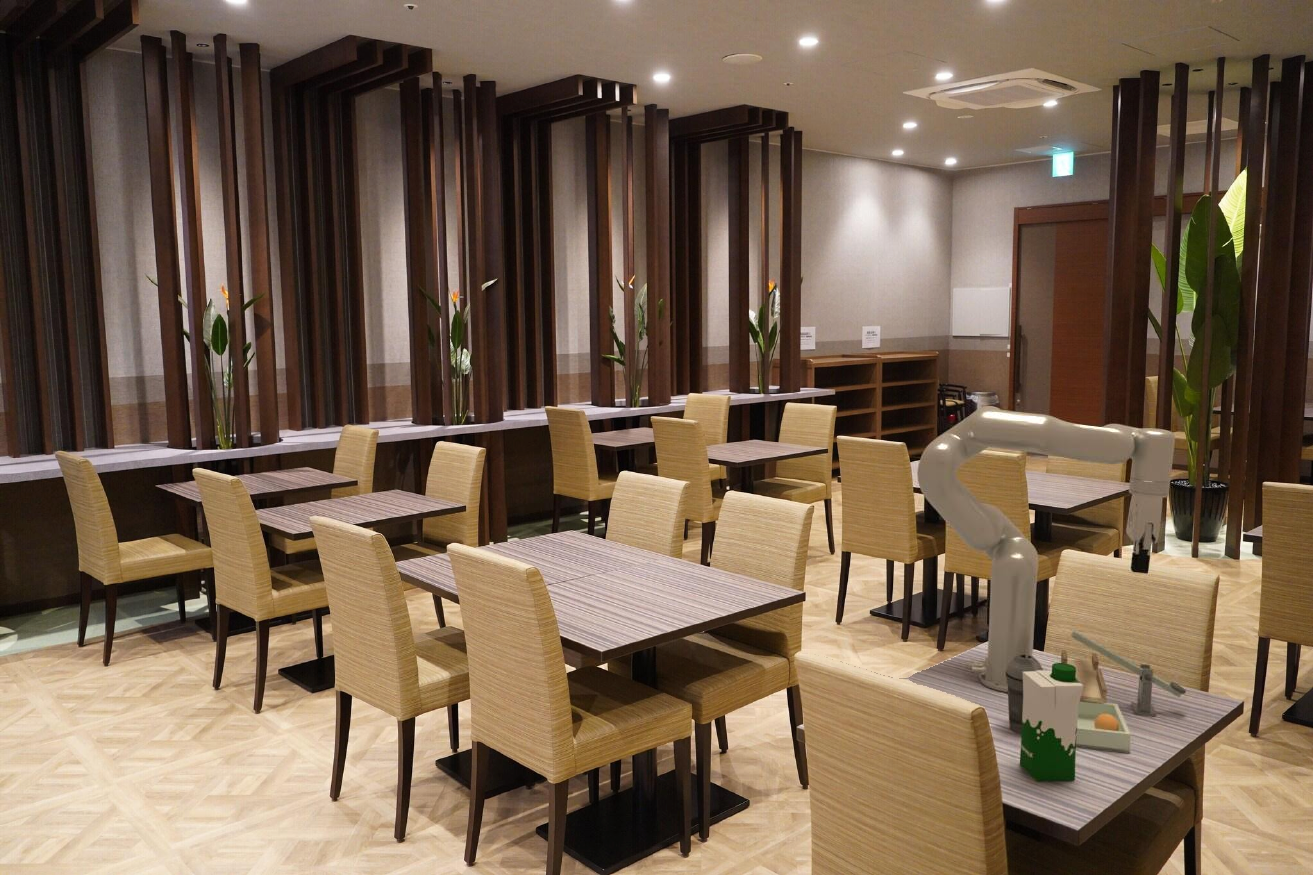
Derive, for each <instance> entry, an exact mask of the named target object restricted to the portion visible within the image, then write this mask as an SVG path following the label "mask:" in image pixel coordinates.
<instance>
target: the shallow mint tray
mask: <svg viewBox="0 0 1313 875" xmlns="http://www.w3.org/2000/svg"><path fill="white" fill-rule="evenodd" d="M1101 714H1110V715H1112V716H1113V717H1115V718H1116V720H1117V721H1118V724H1119V729H1118V731H1111V730H1102V729H1095V726H1094V722H1095V719H1096V718H1097V717H1098V716H1099V715H1101ZM1131 735H1132V734H1131V732H1130V729H1129V728H1128V725H1127V723H1126V720H1125V718H1124V716H1123V714H1122V712H1121V709H1120V707H1119V705H1118V703H1111V702H1106V703H1100V702H1091V701H1082V700H1080V701H1079V707H1078V723H1077V738H1076V748H1081V749H1090V750H1098V751H1106V752H1116V753H1122V754H1124V753H1125V754H1130V752H1131V748H1130V747H1131V737H1132V736H1131Z"/></svg>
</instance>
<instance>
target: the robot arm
mask: <svg viewBox="0 0 1313 875" xmlns="http://www.w3.org/2000/svg"><path fill="white" fill-rule="evenodd" d="M1175 444H1176V436H1175V434H1174V433H1173V432H1172V431H1170V430H1167V429H1162V428H1161V429H1160V428H1152V427H1151V428H1150V427H1147V428H1144V427H1143V428H1138V427H1133V426H1129V425H1125V424H1119V423H1109V424H1105V425H1103V426H1095V425H1094V426H1093V425H1086V424H1085V425H1084V424H1079V423H1078V424H1077V423H1073V422H1068V421H1065V420H1062V419H1060V418H1057V417H1054V416H1052V415H1049V414H1043V413H1033V412H1032V413H1031V412H1021V411H1014V410H1013V411H1012V410H1003V409H1001V408H999V407H996V406H992V405H986V406H981V407H979V408H978V409H976V410H975V411H973V412H972V413H971V414H969V416H967V417H965V418H964V419H963V420H962V421H960V422H958V423H957V424H955V425H954V426H952V427H951V428H949V429H948V430H946V431H945V432H943V433H942V434H940V435H939V436H937V437H936V438H935V439H934V440H932V441H931V442H929V444H928V445H927V446H926V447H925V449H924V450H923V452H922V453H921V457H920V459H919V462H918V465H917V466H918V467H917V471H916V472H917V474H916V476H917V482H918V483H917V484H918V486H919V488H920V491H921V493H922V494H923V496H924V498H925V499H926V500H927V502H928V503H929V504H930V505H931V506H932V508H934V510H936V512H937V513H938V514H939V515H940V516H941V518H942V519H943V520H944V521H945V523H947V524H948V525H949V526H950V528H951V529H952V530H953V531H954V532H955V534H957V536H958V537H959V538H960V539H961V541H963V543H964V544H965V545H966V546H968V548H970V549H972V550H974V551H976V552H983V553H984V554H985V555H986V556H987V557H988V559H990V560H991V567H990V595H989V596H990V598H989V599H990V600H989V620H988V621H989V622H988V623H989V624H988V625H989V626H988V640H987V643H988V644H987V657H984V658H985V659H984V660H980V662H979V661H973V660H965V669H966V670H971V673H976V674H977V673H978V674H979V677H978V678H979V682H980V683H981V684H983V685H984V686H985V687H987V688H989V689H992V690H996V691H1000V692H1005V693H1008V684H1007V679H1006V670H1007V666H1008V664H1009V662H1010V661H1011V660H1012V659H1013V658H1014V657H1016V656H1018V655H1026V645H1027V636H1030V642H1029V653H1028V655H1029V656H1032V657H1033V650H1034V633H1035V632H1034V631H1035V618H1036V617H1035V616H1036V612H1035V611H1036V600H1037V599H1036V598H1037V597H1036V596H1037V595H1036V594H1037V583H1038V572H1039V561H1040V560H1039V554H1038V551H1037V549H1036V547H1035V546H1034V545H1033V544H1032V542H1031V541H1030V540H1029V539H1028V538H1027V537H1026V536H1025V535H1024V534H1023V533H1022V531H1020V529H1019V528H1018V527H1017V526H1016V525H1015V524H1014V523H1013V522H1012V521H1011V520H1010V519H1009V518H1008V517H1007V516H1006V514H1004V513H1003V511H1001V510H1000V509H999V508H998V507H996V506H994V505H993V504H989V503H982V502H981V501H980V500H978V498H977V497H976V496H975V495H974V494H973V493H972V492H971V490H970V489H968V487H966V485H965V484H963V483H962V482H961V481H960V480H959V478H958V475H957V473H958V470H959V469H960V468H961V467H962V466H963V465H964V464H966V463H967V462H968V461H970V460H971V459H973V458H974V457H976V456H977V455H979V454H980V453H982V452H983V451H985V450H986V449H988V448H994V449H1002V450H1010V451H1011V450H1012V451H1020V452H1026V453H1034V454H1040V455H1041V454H1042V455H1046V456H1050V457H1058V458H1064V459H1068V460H1069V459H1070V460H1076V461H1083V462H1091V463H1097V464H1105V465H1106V464H1107V465H1117V464H1118V465H1119V464H1122V463H1125V462H1127V461H1128V460H1129V459H1131V460H1132V462H1131V470H1130V476H1129V477H1130V479H1129V487H1128V493H1129V494H1132V495H1131V500H1130V504H1129V509H1128V511H1129V512H1128V516H1127V522H1126V528H1125V531H1126V532H1125V533H1126V535H1127V536H1128V538H1129V539H1130V540H1131V541H1132V542H1133V549H1132V550H1133V551H1132V553H1131V562H1130V570H1131V571H1132V573H1135V574H1136V573H1137V574H1148V573H1149V570H1150V560H1151V550H1152V545H1153V544H1157V543H1158V542H1159V536H1160V529H1161V522H1162V513H1163V512H1162V510H1163V498H1169V496H1170V495H1169V493H1170V487H1171V486H1170V485H1171V478H1172V477H1171V476H1172V471H1173V470H1172V468H1173V462H1174V451H1175Z"/></svg>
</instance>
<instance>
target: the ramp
mask: <svg viewBox="0 0 1313 875" xmlns="http://www.w3.org/2000/svg"><path fill="white" fill-rule="evenodd" d="M1060 663H1066V664H1070V665H1073V666H1074V667H1075V668H1076V677H1075V678H1076V679H1077V681H1079V682H1080V683H1081V684H1082V685H1083V690H1082V694H1081V697H1080V700H1082V701H1091V702H1100V703H1107V694H1108V689H1107V685H1106V682H1105V679H1104V678H1105V677H1104V675H1103V672H1102V669H1101V668H1099V663H1100V660H1099V657H1098V655H1097V653H1096V652H1095V653H1094V652H1093V653H1091V660H1089V661H1088V660H1080V659H1070V658H1068V655H1067V650H1061V657H1060Z"/></svg>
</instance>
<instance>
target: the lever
mask: <svg viewBox="0 0 1313 875" xmlns="http://www.w3.org/2000/svg"><path fill="white" fill-rule="evenodd" d="M1070 636H1071V638H1072V639H1074V640H1076V641H1078V642H1080V643H1081V644H1083V645H1085V646H1087V647H1088V648H1090V649H1092V650H1094V651H1095V652H1097V653H1099V654H1100V655H1102V656H1105V657H1106V658H1108V659H1109V660H1111V661H1114V662H1115V663H1116V664H1118V665H1120V666H1122V667H1124V668H1125V669H1128V670H1130V671H1132V672H1133V673H1134V674H1137V675H1138V676H1142V674H1143V669H1142V668H1140V666H1138V665H1137V664H1135V663H1133V662H1131V661H1130V660H1128V659H1126V658H1124V657H1122V656H1120V655H1119V654H1117V653H1115V652H1113V651H1111V650H1110V649H1108V648H1107V647H1104V646H1102V645H1101V644H1100V643H1097V642H1095V641H1094V640H1092V639H1090V638H1088V637H1087V636H1085V635H1083V634H1082V633H1080V632H1077V631H1076V630H1073V631H1072V632H1071V634H1070ZM1152 684H1155V685H1156V686H1157V687H1159V688H1162V689H1163V690H1165V691H1167V692H1168V693H1170V694H1172V695H1173V696H1175V697H1177V698H1180V697H1181V696H1182V695H1185V694H1186V693H1187V691H1186V689H1185V688H1184V687H1182V686H1181V685H1179V684H1177V683H1176V682H1174V681H1171V682H1170V683H1168V682H1167V681H1165V680H1163V679H1161V678H1160V677H1158V676H1156V675H1155V674H1153V676H1152Z"/></svg>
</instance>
